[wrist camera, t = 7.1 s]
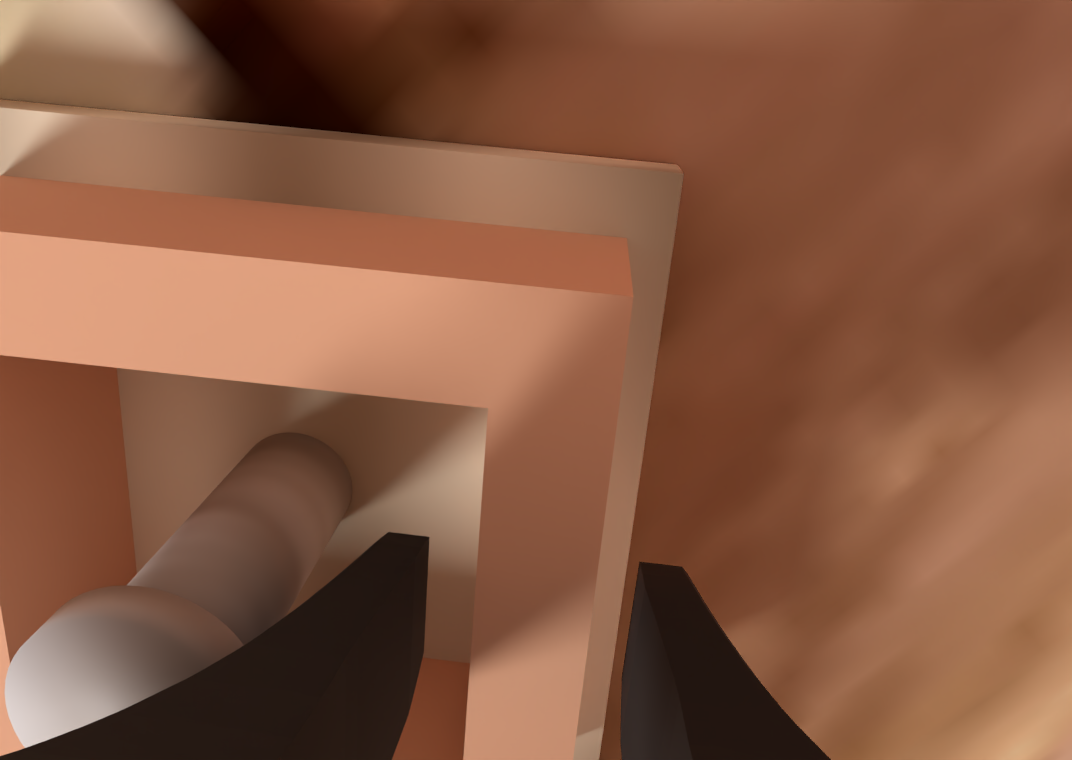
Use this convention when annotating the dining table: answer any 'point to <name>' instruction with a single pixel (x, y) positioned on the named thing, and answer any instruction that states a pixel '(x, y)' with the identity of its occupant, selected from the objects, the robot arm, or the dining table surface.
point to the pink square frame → (332, 365)
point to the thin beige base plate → (316, 413)
